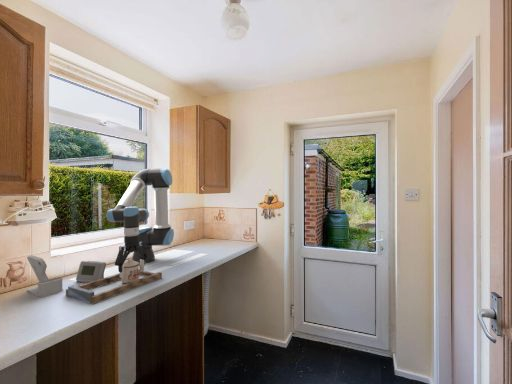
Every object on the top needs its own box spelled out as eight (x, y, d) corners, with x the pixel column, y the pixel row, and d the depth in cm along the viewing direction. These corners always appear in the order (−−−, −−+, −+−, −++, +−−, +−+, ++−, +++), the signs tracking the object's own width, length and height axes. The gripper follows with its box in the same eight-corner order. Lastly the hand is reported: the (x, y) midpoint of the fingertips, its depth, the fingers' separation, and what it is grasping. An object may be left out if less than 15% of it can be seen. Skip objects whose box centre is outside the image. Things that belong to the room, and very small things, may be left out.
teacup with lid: (129, 284, 141) (128, 262, 140) (117, 281, 144) (116, 260, 144) (147, 277, 151) (146, 256, 151) (135, 275, 155) (135, 255, 155)
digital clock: (74, 282, 147) (73, 262, 147) (90, 277, 156) (89, 258, 156) (93, 286, 141) (93, 265, 141) (109, 280, 149) (109, 261, 149)
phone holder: (64, 291, 134) (64, 254, 134) (40, 298, 126) (39, 259, 125) (49, 284, 143) (49, 250, 143) (25, 290, 135) (25, 254, 135)
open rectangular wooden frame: (136, 272, 162) (136, 265, 162) (161, 277, 152) (161, 269, 152) (65, 295, 128) (65, 286, 128) (92, 304, 118) (92, 293, 118)
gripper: (115, 239, 135) (116, 282, 135) (154, 232, 156) (154, 269, 157) (106, 238, 138) (107, 280, 139) (145, 231, 160) (145, 267, 160)
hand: (132, 274), depth 148 cm, fingers closed on teacup with lid, 12 cm apart
